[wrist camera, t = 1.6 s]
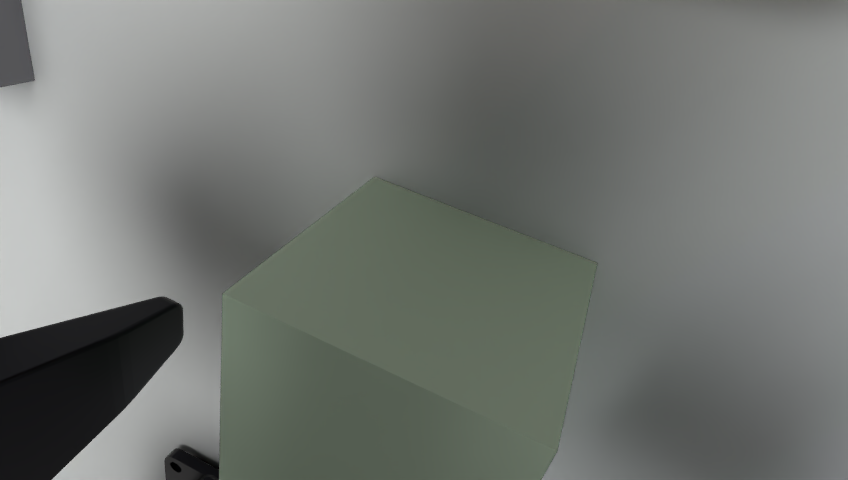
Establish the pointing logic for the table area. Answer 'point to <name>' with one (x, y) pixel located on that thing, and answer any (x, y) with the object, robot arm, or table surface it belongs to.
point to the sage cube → (400, 348)
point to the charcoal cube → (14, 45)
